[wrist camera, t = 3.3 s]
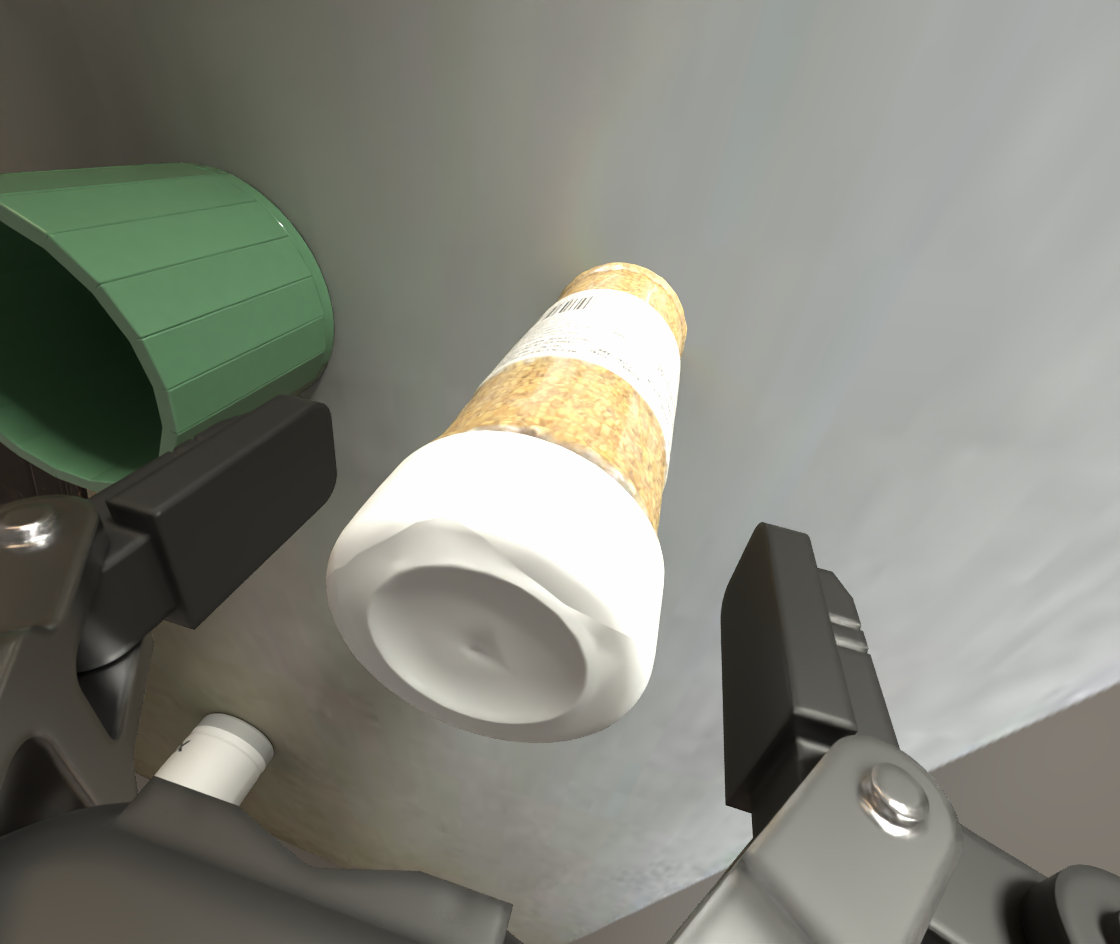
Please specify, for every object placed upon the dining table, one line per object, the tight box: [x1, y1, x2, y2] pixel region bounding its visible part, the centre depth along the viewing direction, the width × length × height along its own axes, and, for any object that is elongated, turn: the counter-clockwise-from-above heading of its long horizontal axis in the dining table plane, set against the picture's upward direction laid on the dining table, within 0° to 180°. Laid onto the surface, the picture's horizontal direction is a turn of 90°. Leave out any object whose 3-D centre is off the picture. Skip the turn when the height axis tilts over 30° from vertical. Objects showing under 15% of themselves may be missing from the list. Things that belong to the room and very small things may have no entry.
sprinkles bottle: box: [326, 263, 687, 743], centre depth 12 cm, size 5×5×14 cm
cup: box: [0, 162, 334, 493], centre depth 18 cm, size 9×9×8 cm
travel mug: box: [154, 713, 274, 806], centre depth 35 cm, size 6×7×20 cm
